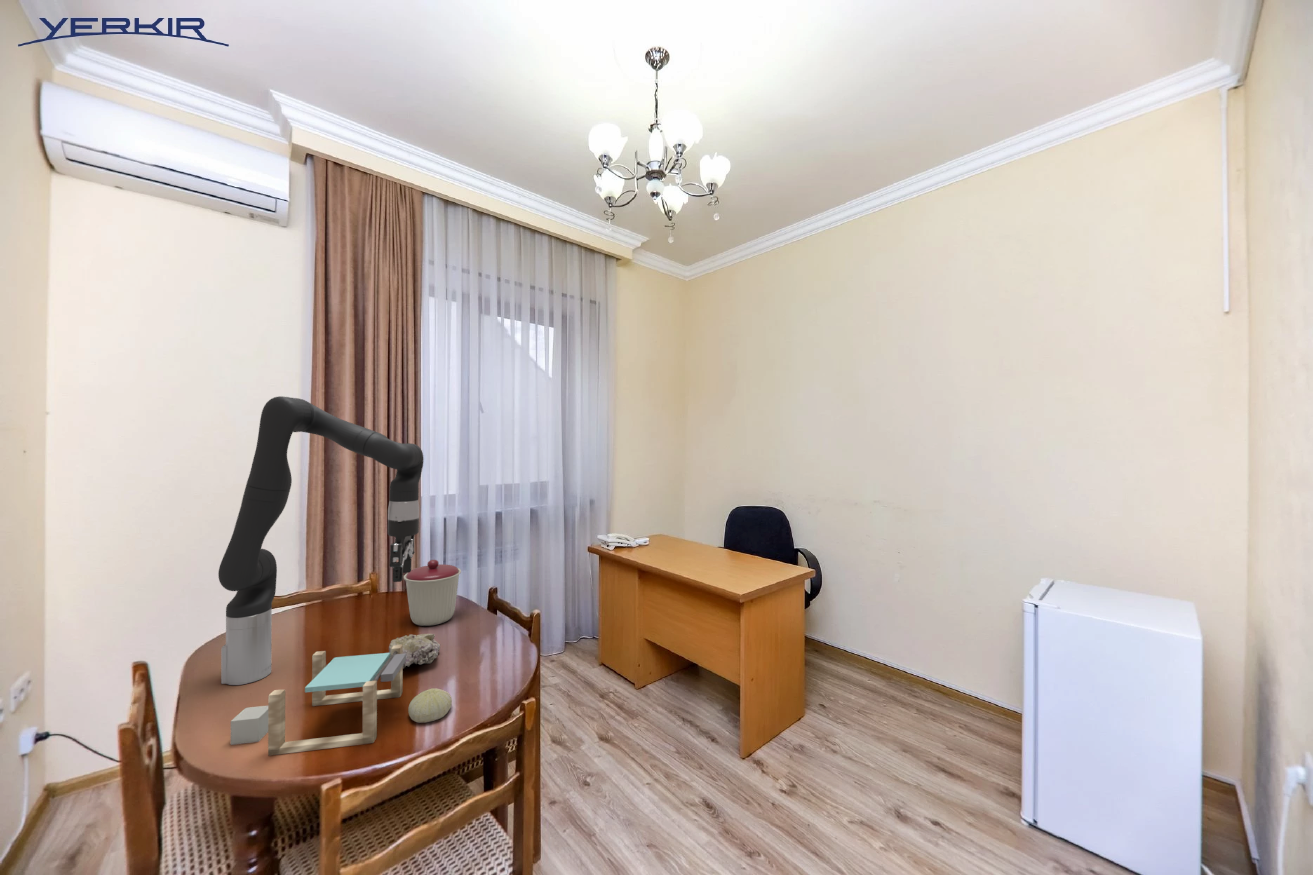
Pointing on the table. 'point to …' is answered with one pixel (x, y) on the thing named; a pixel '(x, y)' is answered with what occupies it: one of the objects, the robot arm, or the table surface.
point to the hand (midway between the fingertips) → (402, 576)
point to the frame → (319, 698)
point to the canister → (432, 593)
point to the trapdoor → (355, 671)
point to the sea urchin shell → (429, 705)
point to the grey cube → (249, 725)
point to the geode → (417, 648)
